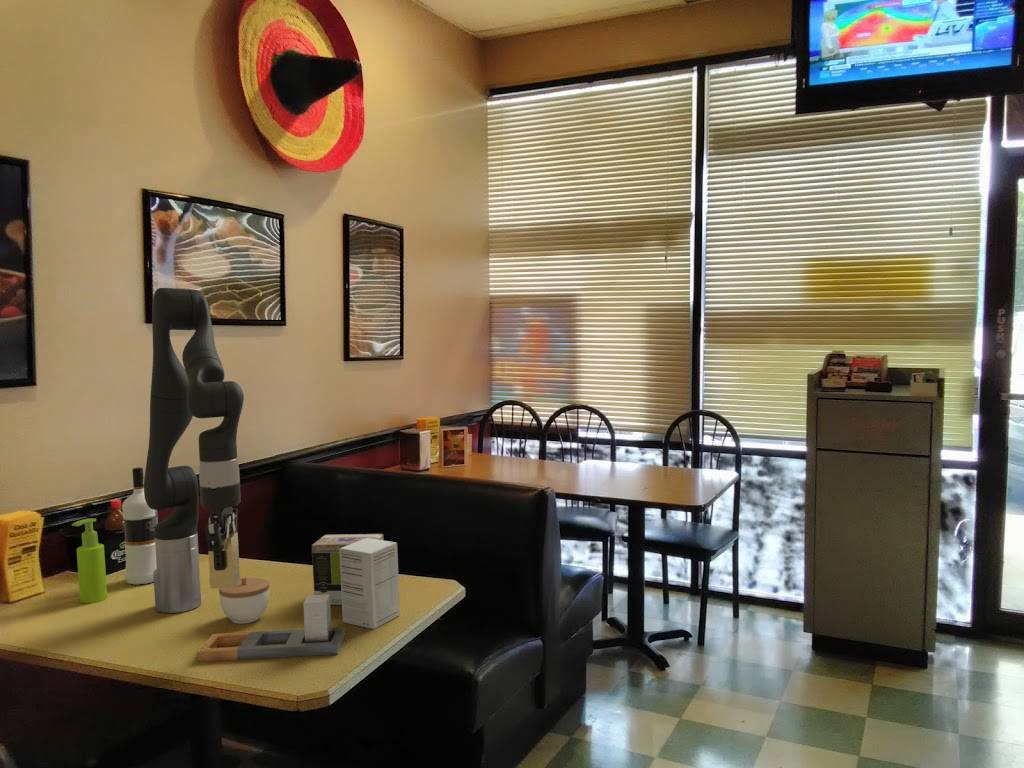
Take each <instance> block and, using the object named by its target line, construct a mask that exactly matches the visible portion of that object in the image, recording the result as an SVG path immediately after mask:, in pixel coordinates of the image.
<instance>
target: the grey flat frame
mask: <svg viewBox="0 0 1024 768" xmlns="http://www.w3.org/2000/svg"><path fill="white" fill-rule="evenodd" d="M331 629H332V641H331V642H322V643H305V628H304V629H285V630H283V629H282V630H266V631H264V630H263V631H246V632H245V631H244V632H243V631H242V632H226V633H225V632H224V633H212V634H211V635H210V637H209V638H208V639H207V641H206V642H205V643H203V645H202V646H201V648H200V649H199V650H198V651H197V659H198V662H200V663H201V662H202V663H203V662H204V663H205V662H219V661H220V662H221V661H222V662H223V661H240V660H242V661H243V660H258V659H276V658H297V657H314V656H316V657H317V656H332V655H333V656H337V655H339V653H340V650H341V647H342V645H343V643H344V639H345V638H346V637H345V636H346V634H345V627H344V626H343V627H331ZM278 643H280V644H278ZM283 643H285V644H283ZM263 644H264V645H263ZM266 644H268V645H266ZM223 646H226V647H223ZM228 646H229V647H228Z"/></svg>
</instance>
